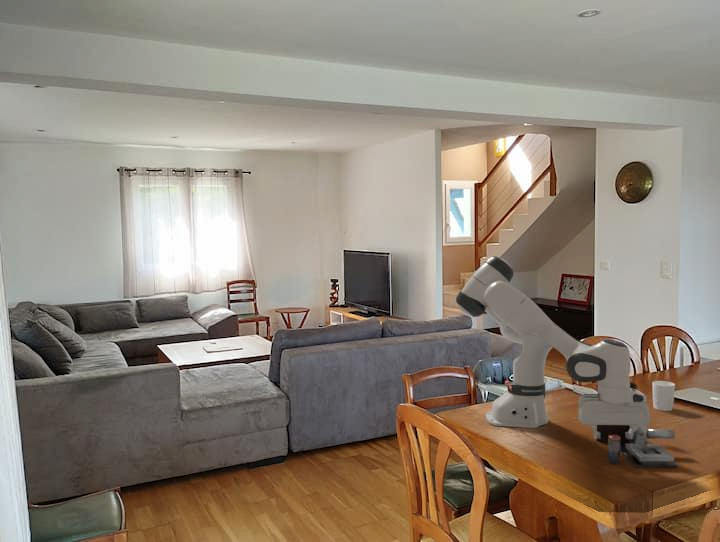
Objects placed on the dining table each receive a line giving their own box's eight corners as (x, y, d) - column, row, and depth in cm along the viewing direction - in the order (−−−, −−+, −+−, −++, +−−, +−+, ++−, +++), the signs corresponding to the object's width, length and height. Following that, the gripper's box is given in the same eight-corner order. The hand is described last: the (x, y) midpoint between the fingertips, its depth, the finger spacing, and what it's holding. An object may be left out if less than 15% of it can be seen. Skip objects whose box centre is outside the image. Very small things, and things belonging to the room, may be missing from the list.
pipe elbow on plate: (635, 467, 178) (636, 419, 176) (615, 447, 193) (616, 402, 192) (691, 467, 177) (692, 419, 176) (666, 447, 193) (667, 402, 191)
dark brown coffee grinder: (631, 447, 194) (633, 392, 192) (595, 441, 199) (596, 388, 198) (637, 432, 207) (638, 381, 206) (603, 427, 213) (604, 377, 211)
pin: (610, 464, 180) (610, 438, 180) (606, 459, 184) (606, 434, 183) (621, 464, 180) (622, 438, 179) (617, 459, 183) (617, 434, 183)
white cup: (652, 410, 230) (653, 385, 230) (650, 404, 238) (651, 380, 237) (675, 412, 227) (676, 387, 227) (673, 406, 235) (673, 381, 234)
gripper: (581, 396, 177) (580, 441, 178) (652, 396, 176) (651, 442, 177) (575, 390, 184) (574, 434, 185) (643, 391, 182) (642, 435, 183)
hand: (612, 438), depth 181 cm, fingers open, 8 cm apart
